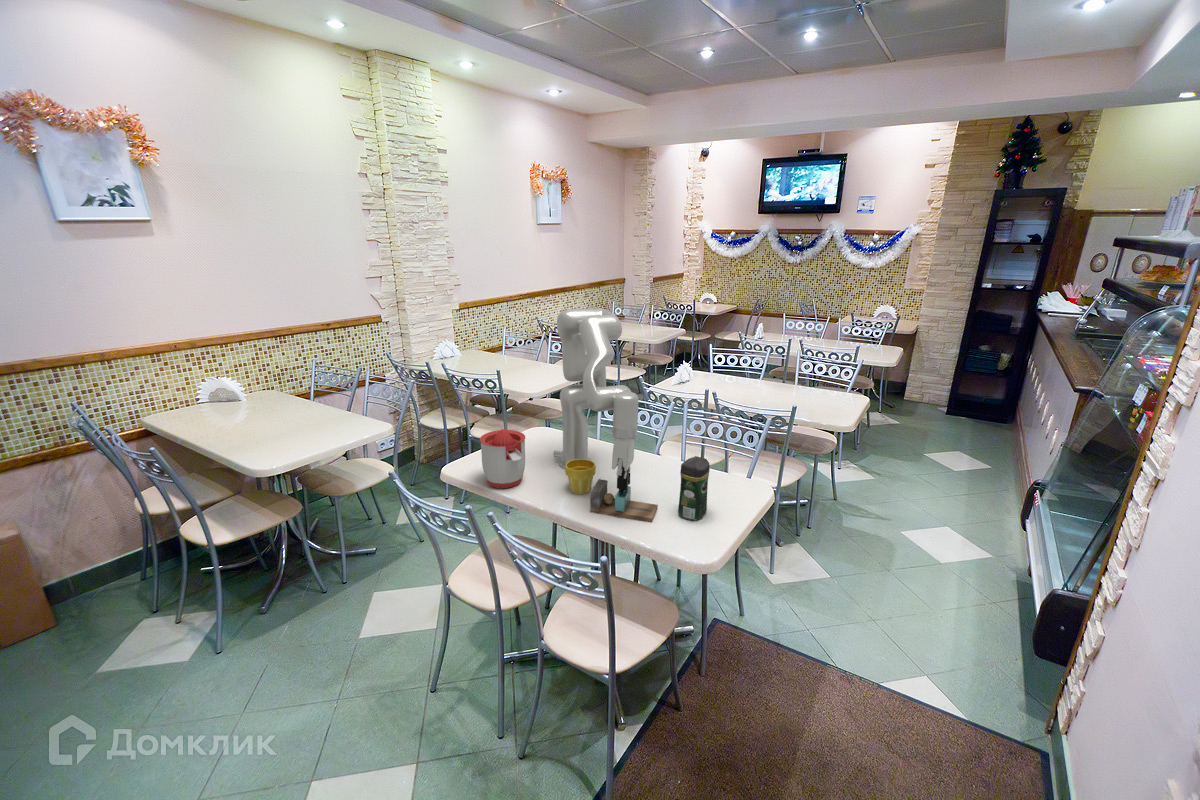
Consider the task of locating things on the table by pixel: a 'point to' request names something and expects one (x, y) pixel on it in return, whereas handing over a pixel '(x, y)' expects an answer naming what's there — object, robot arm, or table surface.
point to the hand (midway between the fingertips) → (623, 485)
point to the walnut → (608, 498)
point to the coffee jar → (693, 488)
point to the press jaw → (623, 497)
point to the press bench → (600, 507)
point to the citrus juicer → (503, 457)
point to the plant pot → (580, 475)
